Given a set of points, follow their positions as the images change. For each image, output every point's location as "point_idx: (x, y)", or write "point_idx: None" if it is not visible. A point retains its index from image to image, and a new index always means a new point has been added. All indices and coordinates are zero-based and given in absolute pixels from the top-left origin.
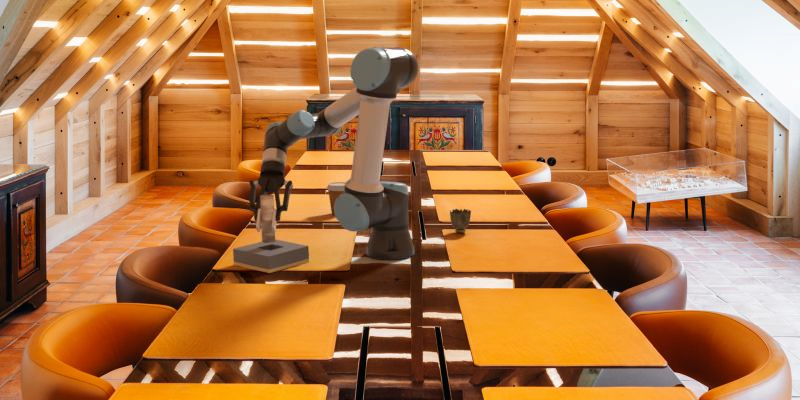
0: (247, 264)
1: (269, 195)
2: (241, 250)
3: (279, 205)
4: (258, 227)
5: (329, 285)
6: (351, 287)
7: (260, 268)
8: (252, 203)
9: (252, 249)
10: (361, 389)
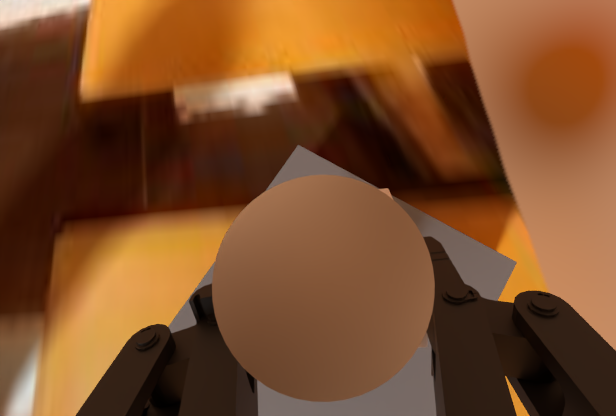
0: None
1: (284, 319)
2: (455, 229)
3: (201, 334)
4: None
5: (118, 82)
6: (66, 75)
7: None
8: (544, 329)
9: None
10: None
